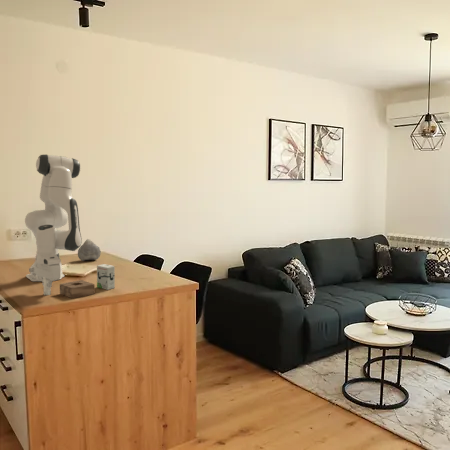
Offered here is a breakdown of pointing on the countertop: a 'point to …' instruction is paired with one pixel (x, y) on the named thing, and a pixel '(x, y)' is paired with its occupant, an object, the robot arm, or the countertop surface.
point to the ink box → (105, 276)
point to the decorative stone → (89, 251)
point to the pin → (46, 289)
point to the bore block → (77, 289)
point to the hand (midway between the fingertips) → (47, 286)
